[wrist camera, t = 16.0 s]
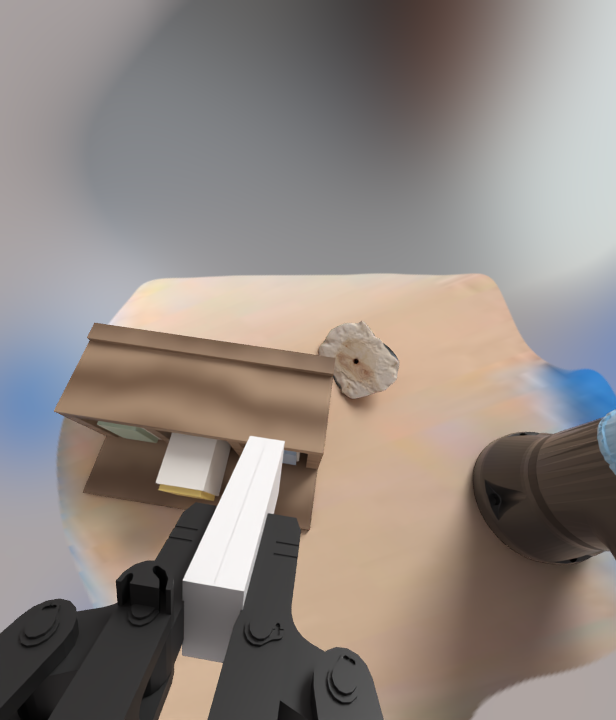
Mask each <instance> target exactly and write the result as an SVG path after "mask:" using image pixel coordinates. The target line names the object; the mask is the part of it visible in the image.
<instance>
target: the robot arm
mask: <svg viewBox="0 0 616 720" xmlns="http://www.w3.org/2000/svg"><path fill="white" fill-rule="evenodd" d="M284 444H285V441H281V440H274V439H268V438H261V437H255V436H250V437H249V439H248V441H247V443H246V446H245V448H244V450H243V452H242V454H241V456H240V458H239V461H238V463H237V465H236V467H235V469H234V471H233V473H232V476H231V478H230V480H229V482H228V484H227V486H226V488H225V491H224V493H223V495H222V497H221V499H220V501H219V503H218V506H216V505H210V504H203V503H197V502H195V503H194V504H193V505H192V506H190V507H189V508H188V509H187V510H185V511H184V512H183V513H182V515H181V517H180V519H179V520H178V522H177V524H176V525H175V528H174V529H173V531H172V532H171V534H170V536H169V539H167V541H166V543H165V544H164V546H163V548H162V549H161V551H160V553H159V554H158V556H157V558H156V560H155V561H144V562H141V563H138V564H135V565H133V566H132V567H130V568H129V569H127V570H126V571H124V572H123V573H122V575H121V576H120V577H119V578H118V579H117V580H116V589H117V601H118V603H116V604H113V605H110V606H106V607H102V608H96V609H90V610H84V611H78V612H76V607H75V606H74V605H73V604H72V603H71V602H70V601H67V600H64V599H54V600H48V601H45V602H43V603H41V604H38V605H36V606H34V607H32V608H31V609H29V610H28V611H27V612H25V613H24V614H22V615H21V616H20V617H19V618H17V619H16V620H15V621H14V622H13V623H12V624H11V625H9V626H8V627H7V628H6V629H5V630H4V631H3V632H2V633H0V720H158V719H159V716H160V713H161V711H162V708H163V705H164V703H165V700H166V697H167V695H168V692H169V689H170V687H171V684H172V680H173V675H174V663H175V661H176V658H177V656H178V653H179V651H180V648H181V645H182V655H183V656H188V657H194V658H199V659H205V660H210V661H216V662H221V663H223V666H222V669H221V673H220V677H219V680H218V684H217V687H216V691H215V695H214V698H213V702H212V705H211V709H210V713H209V716H208V720H384V719H383V715H382V712H381V708H380V704H379V701H378V697H377V693H376V690H375V686H374V682H373V679H372V676H371V674H370V672H369V669H368V667H367V665H366V664H365V663H364V661H363V660H362V659H361V658H360V657H359V655H357V654H356V653H354V652H352V651H351V650H349V649H347V648H339V647H335V648H332V649H330V650H327V651H326V652H324V651H323V650H321V649H319V648H318V647H316V646H314V645H313V644H311V643H310V642H308V641H307V640H306V639H305V638H303V637H302V635H301V634H300V633H299V632H298V630H297V629H296V627H295V624H294V622H293V618H292V614H291V605H292V597H293V589H294V582H295V574H296V566H297V558H298V550H299V542H300V534H301V530H300V527H299V524H298V521H297V518H295V517H289V516H282V515H276V514H274V510H275V506H276V502H277V498H278V494H279V485H280V477H281V469H282V460H283V452H284ZM473 485H474V493H475V497H476V501H477V504H478V507H479V509H480V511H481V514H482V515H483V517H484V519H485V521H486V522H487V524H488V525H489V527H490V528H491V530H492V531H493V532H494V533H495V534H496V536H497V537H498V538H499V539H500V540H501V541H502V542H504V543H505V544H506V545H507V546H508V547H510V548H511V549H512V550H514V551H515V552H517V553H519V554H521V555H522V556H524V557H527V558H529V559H532V560H535V561H539V562H544V563H550V564H558V565H567V564H575V563H579V562H582V561H584V560H587V559H589V558H590V557H592V556H596V555H598V554H600V553H602V552H605V551H610V552H611V553H612V555H613V556H614V558H615V560H616V410H613V411H611V412H609V413H608V414H607V415H606V416H605V417H602V418H599V419H596V420H593V421H590V422H587V423H585V424H582V425H579V426H576V427H573V428H570V429H567V430H564V431H561V432H558V433H555V434H547V433H535V432H518V433H512V434H509V435H506V436H504V437H501V438H499V439H497V440H495V441H493V442H491V443H490V444H489V445H488V446H487V447H485V449H484V450H483V451H482V452H481V454H480V455H479V457H478V459H477V462H476V465H475V469H474V475H473Z"/></svg>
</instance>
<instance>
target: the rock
mask: <svg viewBox="0 0 616 720" xmlns="http://www.w3.org/2000/svg"><path fill="white" fill-rule="evenodd" d="M319 356H326V357H333V358H336V359H335V367H334V375H333V378H334V380H335V382H336V384H337V385H338V386H339V388H340V389H341V391H342V393H344V394H345V395H346V396H348V397H349V398H351V399H355V398H360V397H364V396H367V395H370V394H373V393H376V392H381V391H384V390H386V389H387V388H388V387H389V386H390V385H391V384H393V383H394V382H395V380H396V379H397V374H398V369H399V361H398V359H397V357H396V355H395V354H394V353H393V351H392V350H391V349H390V348H389V347H388V346H386V345H385V344H384V343H382V341H381V340H380V339H378V338H376V337H375V335H374V334H373V332H372V331H371V329H370V328H369V327H368V325H367V324H366V323H365V322H364V321H361V322H360V323H355V324H353V323H346V324H342V325H339V326H337V327H336V328H334V329H332V330H331V331H330V332H329V334H328V335H327V337H326V339H325V340H324V342H323V343H322V344H321V345H320V347H319Z"/></svg>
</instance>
